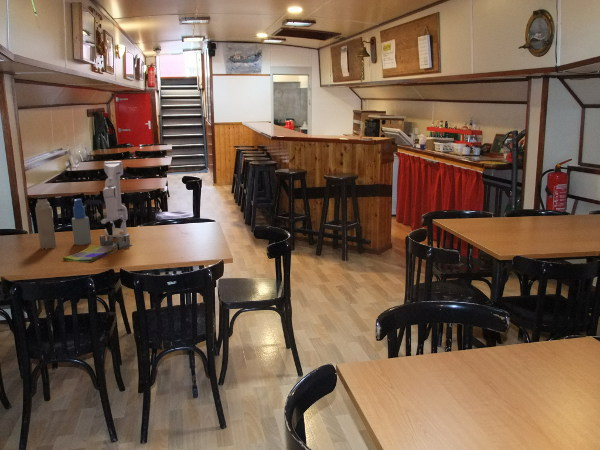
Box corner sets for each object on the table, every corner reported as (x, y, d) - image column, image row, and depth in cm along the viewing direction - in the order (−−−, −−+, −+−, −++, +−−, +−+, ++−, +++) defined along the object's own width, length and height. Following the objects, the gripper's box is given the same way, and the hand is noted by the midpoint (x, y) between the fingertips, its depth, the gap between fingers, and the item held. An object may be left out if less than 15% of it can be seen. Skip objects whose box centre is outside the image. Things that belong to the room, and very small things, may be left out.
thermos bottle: (47, 245, 313) (41, 195, 306) (59, 245, 310) (53, 195, 304) (37, 248, 305) (30, 198, 299) (48, 249, 303) (42, 198, 297)
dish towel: (61, 261, 282) (60, 256, 281) (91, 249, 304) (91, 244, 304) (90, 264, 277) (90, 258, 276) (119, 250, 299) (119, 245, 299)
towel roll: (102, 237, 306) (101, 228, 305) (108, 234, 310) (107, 225, 309) (120, 239, 300) (119, 230, 299) (127, 236, 305) (126, 227, 303)
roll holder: (98, 247, 305) (97, 236, 304) (111, 243, 314) (110, 232, 312) (119, 249, 299) (118, 238, 298) (132, 245, 308) (131, 234, 306)
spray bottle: (82, 240, 321) (78, 197, 316) (94, 241, 317) (90, 198, 312) (70, 244, 313) (65, 200, 308) (82, 245, 310) (77, 201, 304)
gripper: (107, 212, 294) (110, 237, 297) (126, 207, 307) (129, 231, 310) (97, 211, 297) (100, 236, 300) (117, 206, 310) (119, 230, 313)
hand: (114, 234), depth 305 cm, fingers closed on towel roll, 5 cm apart
